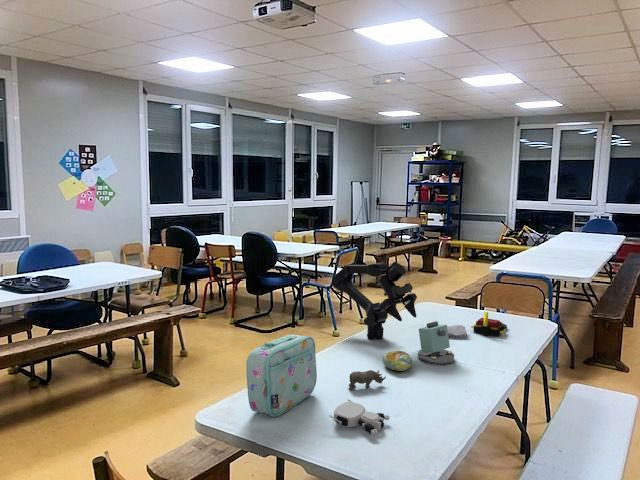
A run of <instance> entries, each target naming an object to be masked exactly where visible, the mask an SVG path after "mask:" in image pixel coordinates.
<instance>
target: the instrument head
mask: <svg viewBox="0 0 640 480" xmlns="http://www.w3.org/2000/svg"><path fill="white" fill-rule="evenodd" d="M447 326H448V325H447V324H439V321H438V320H434V321H432V322H428V323H426V326H424V327H419V328H418V334H419V335H418V336H419V342H420V350H421V351H422V352H431V353H434V352H437V351H440V350H443V349H444V350H447V349H449V348H451V347H450V339H449V338H450V337H448V330H447Z"/></svg>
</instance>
